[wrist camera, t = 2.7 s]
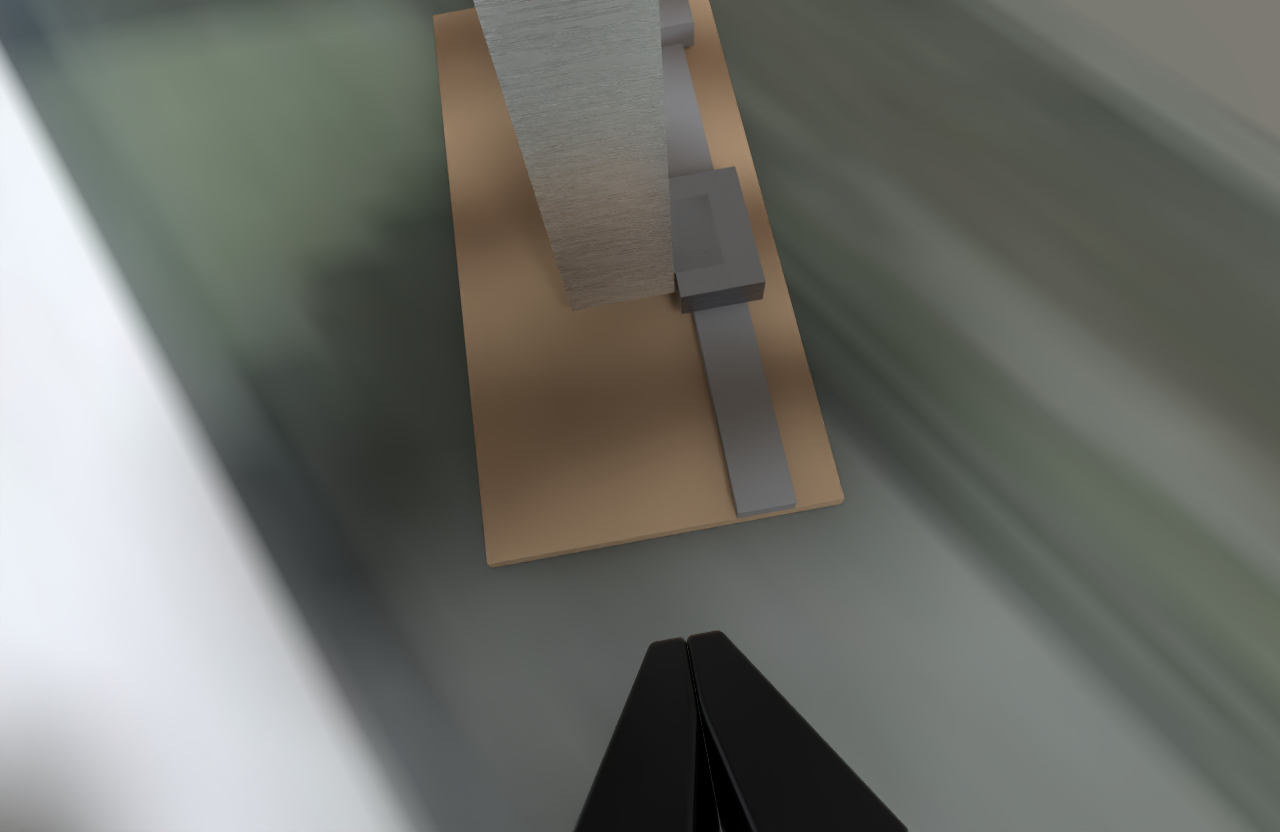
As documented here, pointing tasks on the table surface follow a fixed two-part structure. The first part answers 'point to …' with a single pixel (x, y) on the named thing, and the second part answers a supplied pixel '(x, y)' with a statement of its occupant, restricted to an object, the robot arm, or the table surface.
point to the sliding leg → (615, 158)
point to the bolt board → (619, 339)
